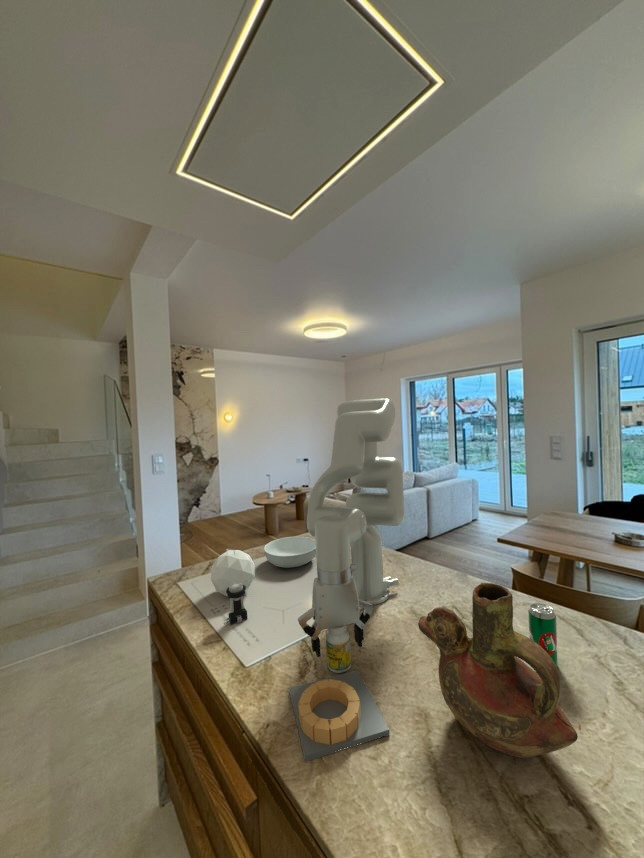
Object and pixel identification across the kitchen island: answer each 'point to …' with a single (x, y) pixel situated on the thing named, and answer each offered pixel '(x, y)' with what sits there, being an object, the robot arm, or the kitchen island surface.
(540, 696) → the ceramic vessel
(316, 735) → the collar
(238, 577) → the geodesic sphere
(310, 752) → the plate
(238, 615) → the push button
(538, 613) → the soda can
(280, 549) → the serving bowl
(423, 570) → the kitchen island surface
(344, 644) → the supplement bottle
